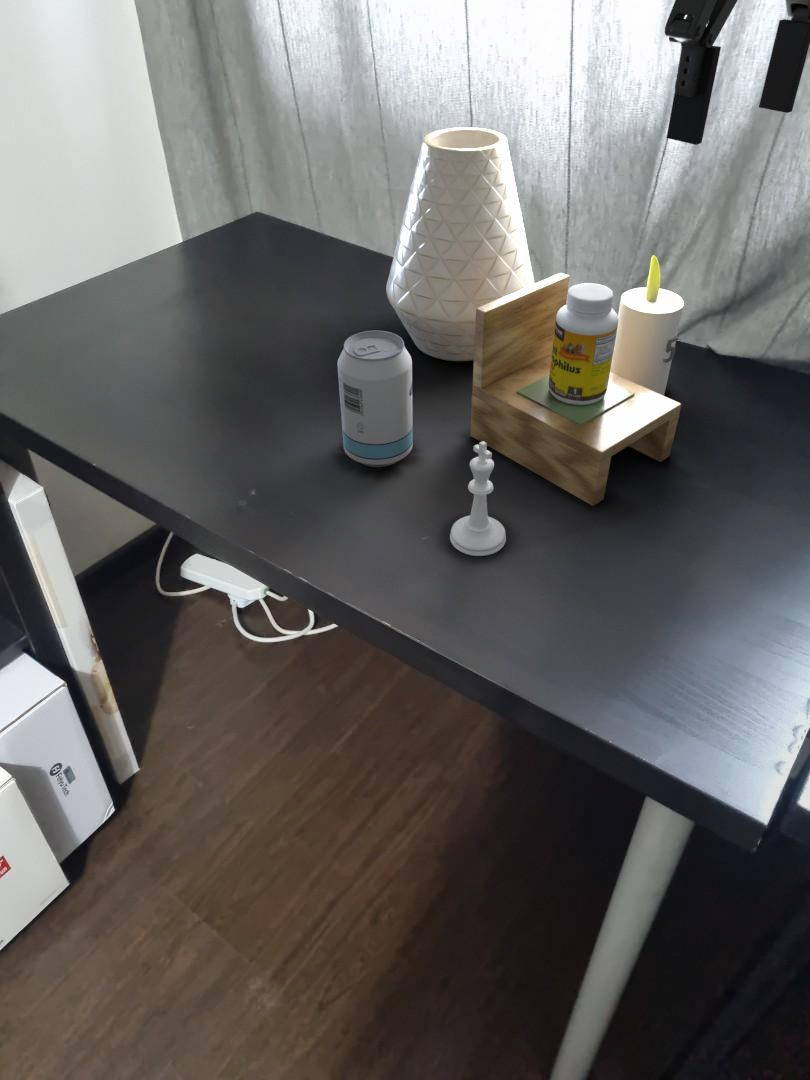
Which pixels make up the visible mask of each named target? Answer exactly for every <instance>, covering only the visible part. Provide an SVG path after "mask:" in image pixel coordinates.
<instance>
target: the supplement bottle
mask: <svg viewBox="0 0 810 1080" xmlns="http://www.w3.org/2000/svg"><path fill="white" fill-rule="evenodd" d="M613 301H614V292H613V290H612V289H611V288H609V287H608V286H606V285H603V284H599V283H593V282H582V283H577V284H573V285H572V286H570V287H569V288H568V295H567V301H566V303H567V304H566V305H564V306H563V307H561V308H560V310H559V311H558V313H557V316H556V323H555V332H554V341H553V350H552V358H551V367H550V375H549V390H550V392H551V394H552V395H553V396H554V397H555V398H557V399H558V400H560V401H562V402H565V403H568V404H573V405H588V404H593V403H595V402H597V401H599V400H601V399H602V398H603V397H604V396H605V394H606V392H607V387H608V381H609V375H610V369H611V363H612V358H613V352H614V346H615V340H616V334H617V328H618V321H619V319H618V313H617V312H616V311H615V310H614V309H613Z"/></svg>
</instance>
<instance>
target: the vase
mask: <svg viewBox="0 0 810 1080" xmlns="http://www.w3.org/2000/svg"><path fill="white" fill-rule="evenodd" d="M510 155H511V154H510V149H509V144H508V139H507V137H506V135H504V134H503V133H501V132H498V131H496V130H493V129H489V128H482V127H481V128H480V127H465V126H464V127H449V128H448V127H447V128H443V129H437V130H434V131H432V132H428V133H427V134H426V135H424V137H423V138H422V142H421V146H420V150H419V154H418V157H417V161H416V165H415V170H414V173H413V178H412V182H411V185H410V190H409V194H408V198H407V201H406V206H405V209H404V212H403V213H404V214H403V218H402V222H401V226H400V229H399V233H398V237H397V242H396V246H395V250H394V254H393V257H392V262H391V265H390V270H389V275H388V277H387V281H386V287H385V289H386V291H385V292H386V297H387V299H388V302H389V303H390V305H391V307H392V308H393V310H394V312H395V313H396V315H397V317H398V318H399V320H400V322H401V323H402V325H403V327H404V328H405V330H406V331H407V333H408V335H409V336H410V338H411V340H412V342H413V343H414V345H415V346H416V347H417V349H419V350H420V351H421V352H422V353H423V354H425V355H427V356H430V357H432V358H434V359H437V360H442V361H450V362H470V361H471V362H472V361H474V345H475V321H476V308H478V307H481V306H483V305H486V304H488V303H490V302H493V301H495V300H497V299H500V298H502V297H504V296H507V295H509V294H512V293H514V292H516V291H519V290H521V289H523V288H526V287H528V286H530V285H533V284H535V283H536V282H535V279H534V278H535V277H534V273H533V269H532V263H531V259H530V253H529V248H528V243H527V237H526V231H525V227H524V222H523V216H522V211H521V206H520V202H519V197H518V192H517V191H518V190H517V186H516V180H515V176H514V171H513V164H512V160H511V156H510Z"/></svg>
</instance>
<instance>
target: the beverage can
mask: <svg viewBox="0 0 810 1080" xmlns="http://www.w3.org/2000/svg"><path fill="white" fill-rule="evenodd" d="M337 379H338V389H339V404H340V405H339V406H340V415H341V416H340V417H341V429H342V431H341V432H342V443H343V450H344V452H345V454H346V455H347V456H348V457H349V458H350V459H352V460H354V461H355V462H358V463H360V464H361V465H364V466H367V467H370V468H384V467H388V466H392V465H394V464H396V463H397V462H400V461H401V460H403V459H405V458H406V457H407V456H408V455H409V454H410V453H411V451H412V450H413V447H414V434H413V433H414V429H413V428H414V427H413V425H414V423H413V416H414V415H413V414H414V413H413V360H412V356H411V354H410V353H409V351H408V350H407V348H406V346H405V341H404V340H403V338H402V337H401V336H400V335H398V334H396V333H394V332H390V331H385V330H365V331H361V332H357V333H355V334H352V335H350V336H349V337H347V338H346V339H345V341H344V342H343V349H342V351H341V353H340V354H339V357H338V359H337Z"/></svg>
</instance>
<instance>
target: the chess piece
mask: <svg viewBox="0 0 810 1080" xmlns="http://www.w3.org/2000/svg"><path fill="white" fill-rule="evenodd" d="M487 447H488V446H487V443H486V442H484V441H482V442H480V441H479V442H478V444H475V445H473V452H475V453H477V454H478V456H475V457H473V458H472V459H471V460H470V461H469V468H470V471H471V473H472V476H473V477H472V478H473V479H472V480H470V481H469V482H468V485H467V489H468V491H469V492H470V493H471V494H472V495H473V500H472V505H471V510H470V514H469V515H466V516H463V517H461V518H459V519H458V520H456V521H455V522H454V523H453V524H452V526H451V529H450V533H449V540H450V543H451V545H452V546H453V548H455V549H456V550H458V551H459V552H461V553H463V554H465V555H468V556H474V557H483V556H484V557H485V556H491V555H493V554H495V553H498V552H499V551H500V550H501V549H502V548H503V547H504V545H505V544H506V541H507V536H506V529H505V527H504V525H503V524H502V523H501V522H500V521H499V520H497V519H495V518H494V517H491V516H489V514H488V502H487V495H489V494H491V493H492V492H493V491H494V485H493V484H494V483H493V482H492V481H491V480H489V479H490V476H491V473H492V472H493V470H494V469H495V462H494V460H493V459H492V458H493V453H492V452H491V451H490V450H488V449H487Z"/></svg>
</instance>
